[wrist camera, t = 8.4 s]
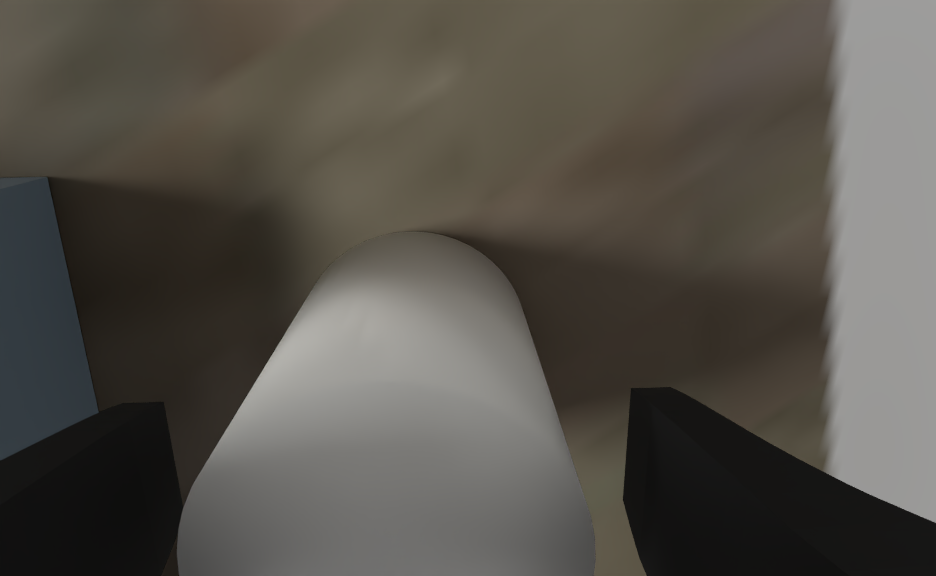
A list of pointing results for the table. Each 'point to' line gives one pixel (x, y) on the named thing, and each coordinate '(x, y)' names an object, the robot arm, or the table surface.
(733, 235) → the table surface
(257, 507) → the white egg shape
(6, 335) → the tote
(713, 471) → the robot arm
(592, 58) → the table surface
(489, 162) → the table surface
